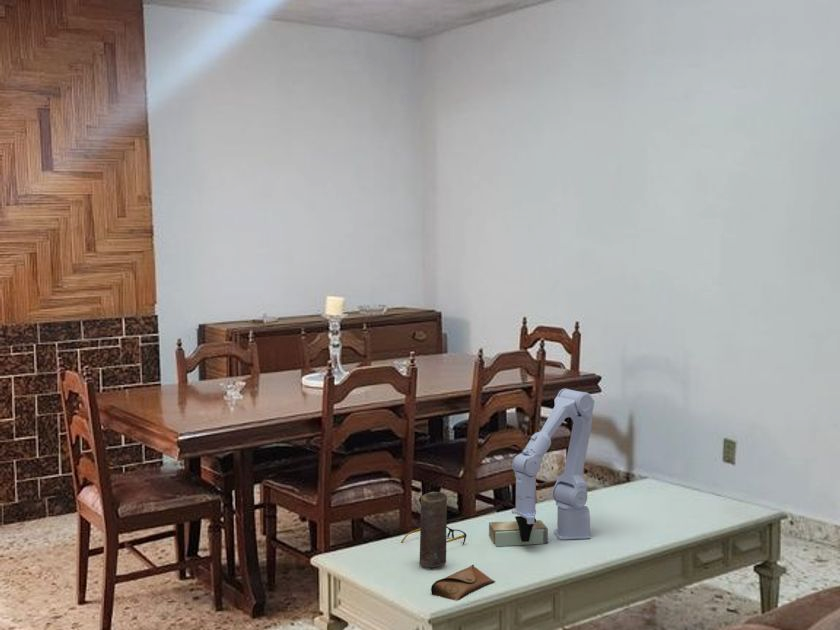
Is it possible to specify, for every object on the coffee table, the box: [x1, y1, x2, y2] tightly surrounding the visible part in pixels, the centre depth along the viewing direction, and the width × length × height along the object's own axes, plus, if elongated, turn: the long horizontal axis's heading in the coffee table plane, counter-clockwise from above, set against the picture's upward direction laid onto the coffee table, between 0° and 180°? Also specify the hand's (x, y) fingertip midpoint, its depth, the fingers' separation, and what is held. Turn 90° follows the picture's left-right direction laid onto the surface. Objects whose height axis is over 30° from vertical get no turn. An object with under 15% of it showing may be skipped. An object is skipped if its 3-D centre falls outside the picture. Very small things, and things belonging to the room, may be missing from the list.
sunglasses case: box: [430, 564, 496, 602], centre depth 254 cm, size 18×7×7 cm, turn 142°
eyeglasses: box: [400, 525, 467, 545], centre depth 289 cm, size 14×14×4 cm
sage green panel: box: [494, 528, 549, 547], centre depth 287 cm, size 16×1×4 cm, turn 100°
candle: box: [419, 491, 448, 569], centre depth 269 cm, size 8×7×20 cm
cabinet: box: [488, 519, 548, 545], centre depth 293 cm, size 16×8×4 cm, turn 96°
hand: (525, 541), depth 286 cm, fingers closed
